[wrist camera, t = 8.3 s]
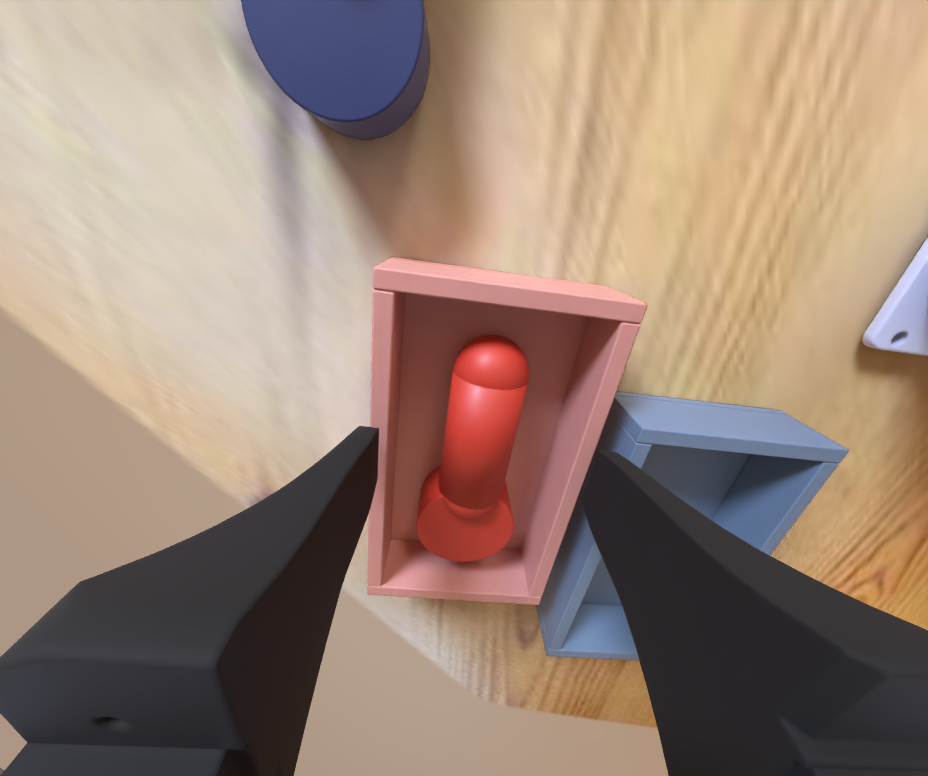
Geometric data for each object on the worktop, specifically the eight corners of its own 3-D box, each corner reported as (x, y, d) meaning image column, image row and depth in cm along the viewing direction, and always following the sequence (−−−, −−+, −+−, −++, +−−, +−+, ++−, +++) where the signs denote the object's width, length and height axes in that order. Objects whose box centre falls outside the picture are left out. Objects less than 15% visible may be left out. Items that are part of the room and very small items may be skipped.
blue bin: (608, 390, 14) (642, 428, 11) (780, 409, 15) (850, 450, 12) (534, 599, 20) (546, 656, 17) (659, 607, 21) (689, 663, 18)
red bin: (391, 256, 12) (372, 266, 9) (608, 286, 12) (649, 303, 10) (380, 539, 18) (366, 595, 15) (527, 550, 18) (539, 605, 16)
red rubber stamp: (438, 318, 12) (434, 341, 10) (547, 332, 13) (568, 357, 10) (417, 522, 17) (411, 571, 14) (499, 528, 17) (506, 578, 15)
